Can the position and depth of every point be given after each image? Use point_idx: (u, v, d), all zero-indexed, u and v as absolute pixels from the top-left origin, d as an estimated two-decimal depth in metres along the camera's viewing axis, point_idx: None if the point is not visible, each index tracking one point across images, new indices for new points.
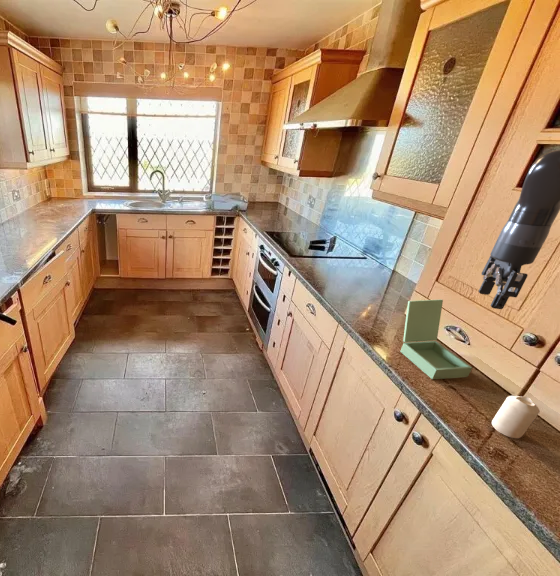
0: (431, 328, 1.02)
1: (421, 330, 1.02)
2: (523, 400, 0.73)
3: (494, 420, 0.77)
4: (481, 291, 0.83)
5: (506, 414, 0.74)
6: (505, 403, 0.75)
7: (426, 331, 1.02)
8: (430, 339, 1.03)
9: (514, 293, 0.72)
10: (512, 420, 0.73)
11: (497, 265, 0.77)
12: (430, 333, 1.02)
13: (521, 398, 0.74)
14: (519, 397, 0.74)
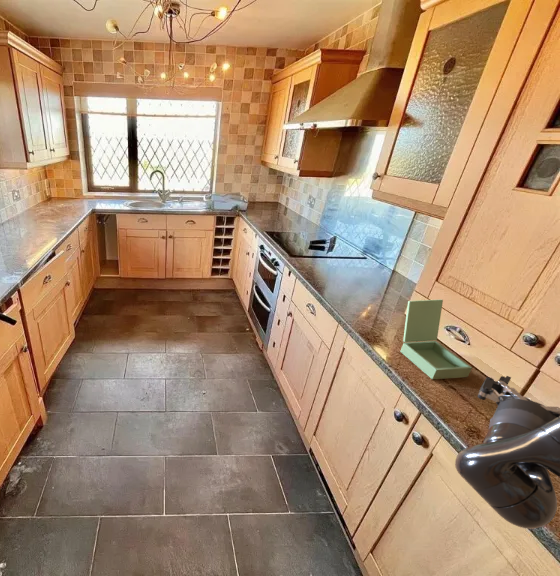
0: (431, 328, 1.02)
1: (421, 330, 1.02)
2: None
3: None
4: None
5: None
6: None
7: (426, 331, 1.02)
8: (430, 339, 1.03)
9: None
10: None
11: None
12: (430, 333, 1.02)
13: None
14: None
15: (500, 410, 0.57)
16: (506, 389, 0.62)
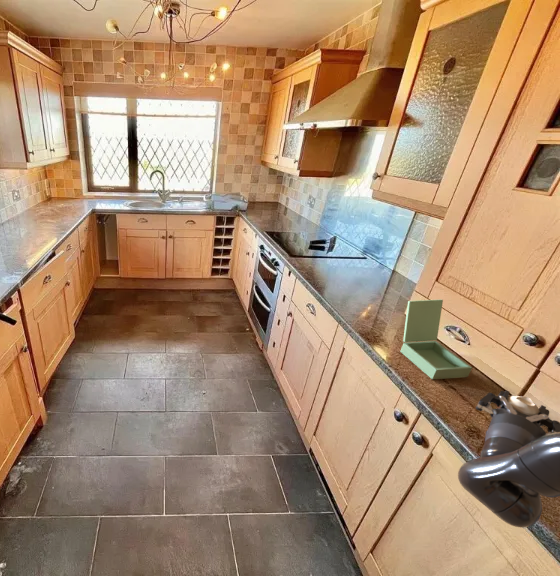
0: (431, 328, 1.02)
1: (421, 330, 1.02)
2: (523, 400, 0.73)
3: None
4: None
5: None
6: None
7: (426, 331, 1.02)
8: (430, 339, 1.03)
9: None
10: None
11: None
12: (430, 333, 1.02)
13: (521, 398, 0.74)
14: (519, 397, 0.74)
15: (494, 424, 0.67)
16: (503, 403, 0.72)
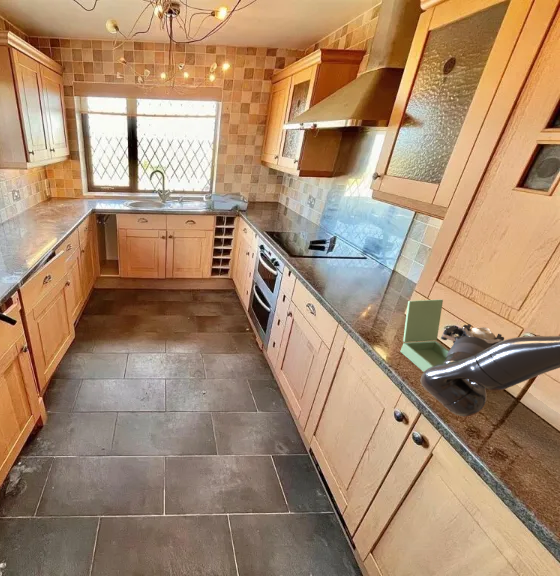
0: (431, 328, 1.02)
1: (421, 330, 1.02)
2: (482, 330, 0.82)
3: None
4: None
5: None
6: None
7: (426, 331, 1.02)
8: (430, 339, 1.03)
9: None
10: None
11: None
12: (430, 333, 1.02)
13: (481, 329, 0.83)
14: (479, 328, 0.83)
15: (454, 345, 0.76)
16: (464, 332, 0.82)
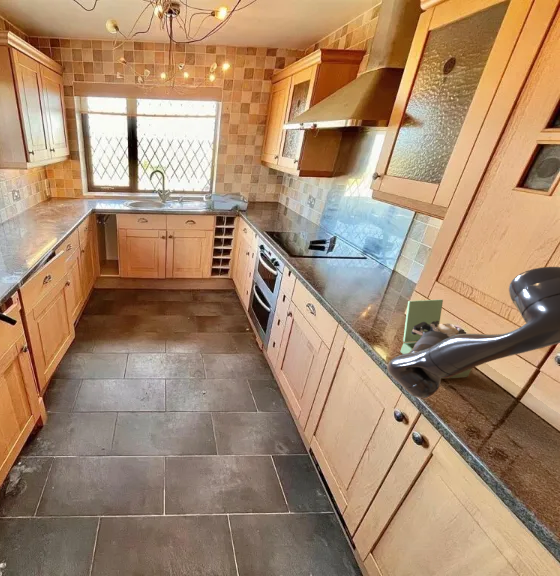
0: None
1: None
2: (447, 326, 0.93)
3: None
4: None
5: None
6: None
7: None
8: None
9: None
10: None
11: None
12: None
13: (446, 325, 0.93)
14: (445, 324, 0.94)
15: (420, 338, 0.87)
16: (431, 327, 0.92)
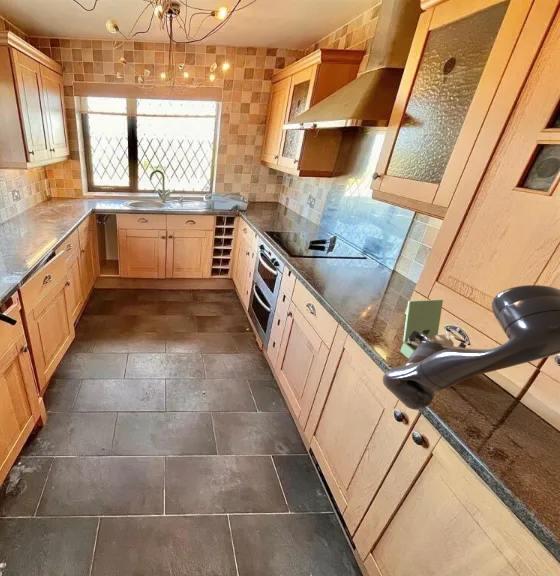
0: (431, 328, 1.02)
1: (421, 330, 1.02)
2: (442, 337, 0.95)
3: None
4: (427, 335, 0.98)
5: None
6: None
7: None
8: None
9: None
10: None
11: None
12: (430, 333, 1.02)
13: (441, 336, 0.95)
14: (440, 335, 0.95)
15: (415, 349, 0.88)
16: (424, 337, 0.94)
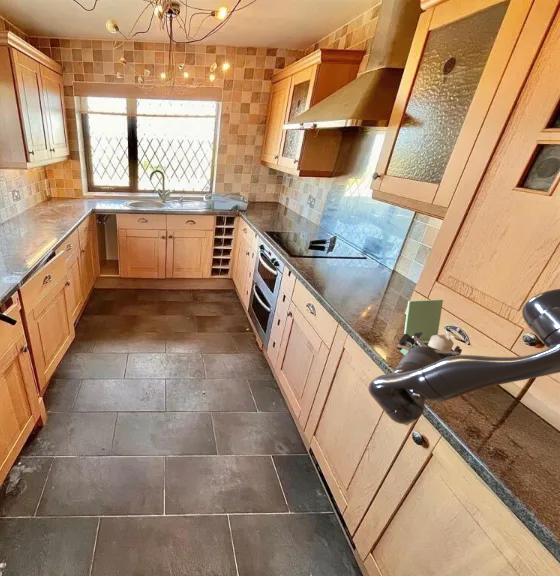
0: (431, 328, 1.02)
1: (421, 330, 1.02)
2: (442, 337, 0.95)
3: None
4: (420, 338, 0.90)
5: None
6: (430, 340, 0.96)
7: (426, 331, 1.02)
8: None
9: None
10: None
11: None
12: (430, 333, 1.02)
13: (441, 336, 0.95)
14: (440, 335, 0.95)
15: (406, 354, 0.80)
16: (416, 341, 0.86)
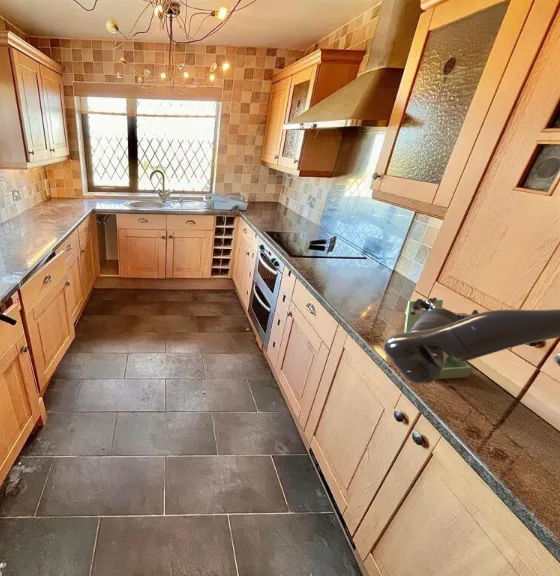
0: None
1: None
2: None
3: None
4: None
5: None
6: None
7: None
8: None
9: None
10: None
11: None
12: None
13: None
14: None
15: (421, 317, 0.75)
16: (430, 305, 0.80)
